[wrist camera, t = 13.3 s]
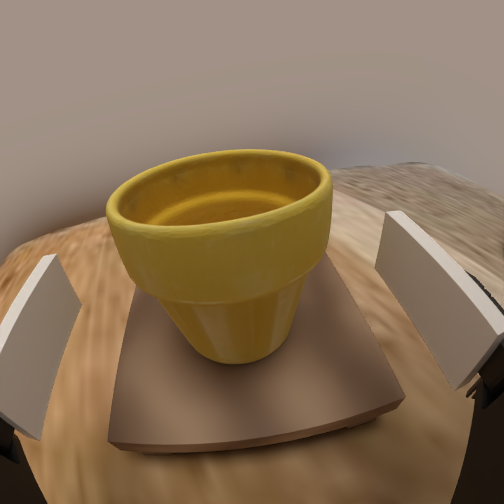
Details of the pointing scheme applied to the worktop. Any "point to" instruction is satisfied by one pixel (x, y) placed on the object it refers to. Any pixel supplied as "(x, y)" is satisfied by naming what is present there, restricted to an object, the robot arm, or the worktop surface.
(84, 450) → the worktop surface
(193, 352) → the walnut stand
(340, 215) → the worktop surface
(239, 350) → the plant pot
